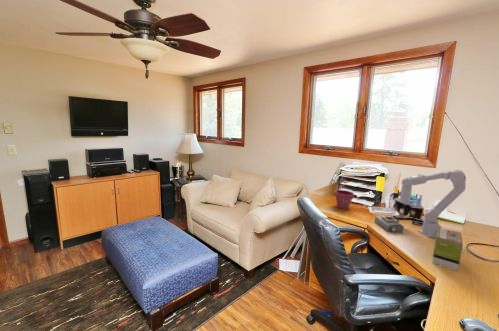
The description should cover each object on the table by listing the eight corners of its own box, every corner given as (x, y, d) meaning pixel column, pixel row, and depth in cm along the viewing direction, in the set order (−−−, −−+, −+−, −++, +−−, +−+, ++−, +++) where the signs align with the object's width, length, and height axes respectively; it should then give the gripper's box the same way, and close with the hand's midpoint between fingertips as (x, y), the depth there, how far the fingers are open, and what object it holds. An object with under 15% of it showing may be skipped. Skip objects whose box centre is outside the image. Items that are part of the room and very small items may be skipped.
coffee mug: (424, 221, 170) (426, 208, 168) (412, 221, 170) (414, 208, 168) (413, 215, 181) (415, 203, 179) (402, 214, 181) (404, 202, 179)
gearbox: (404, 233, 149) (406, 225, 148) (389, 232, 149) (390, 224, 148) (388, 221, 167) (389, 214, 166) (374, 221, 167) (375, 214, 166)
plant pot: (353, 206, 196) (355, 192, 194) (350, 211, 185) (352, 196, 182) (336, 202, 204) (337, 189, 202) (332, 207, 192) (333, 192, 190)
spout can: (407, 218, 157) (408, 208, 156) (401, 217, 157) (402, 208, 156) (403, 215, 161) (404, 206, 160) (397, 215, 161) (398, 206, 160)
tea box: (432, 251, 128) (437, 226, 126) (456, 258, 122) (462, 232, 119) (431, 263, 117) (436, 236, 114) (458, 271, 110) (464, 243, 108)
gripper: (420, 198, 151) (417, 217, 153) (401, 191, 165) (398, 209, 167) (411, 198, 149) (408, 218, 151) (393, 192, 163) (390, 210, 165)
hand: (402, 214), depth 159 cm, fingers closed on spout can, 4 cm apart
